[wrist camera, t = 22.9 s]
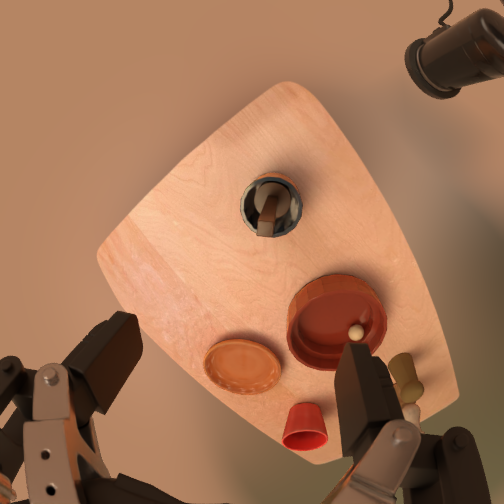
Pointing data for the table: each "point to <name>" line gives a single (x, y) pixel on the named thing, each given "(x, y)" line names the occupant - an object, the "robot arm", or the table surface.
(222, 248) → the table surface
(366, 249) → the table surface
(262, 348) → the saucer
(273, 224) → the wooden pestle
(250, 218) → the crock
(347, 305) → the bowl
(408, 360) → the brown peg figure
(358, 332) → the dough ball
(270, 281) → the table surface
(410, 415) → the candle holder
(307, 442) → the flower pot
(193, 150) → the table surface
